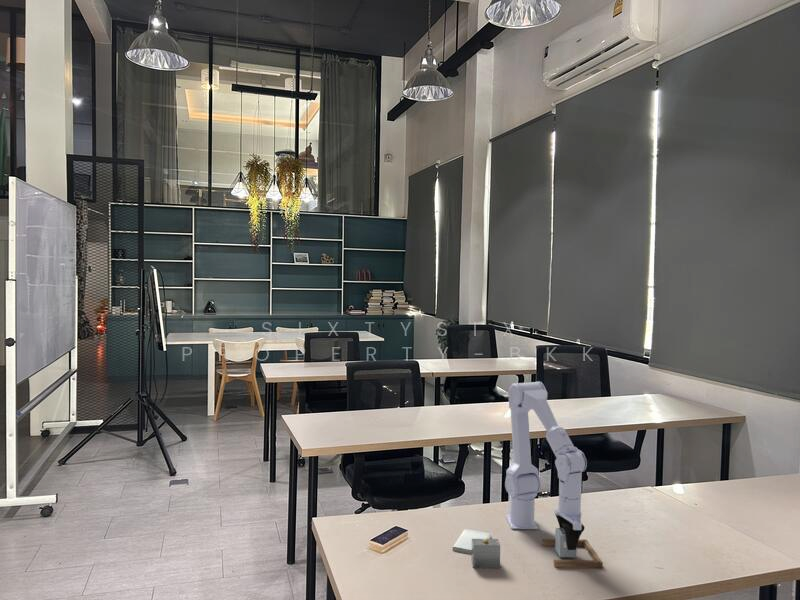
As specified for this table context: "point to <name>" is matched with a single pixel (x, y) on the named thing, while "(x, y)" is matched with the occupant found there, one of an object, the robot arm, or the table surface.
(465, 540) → the hard drive
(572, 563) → the bay
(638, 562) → the table surface
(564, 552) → the block
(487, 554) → the unit
